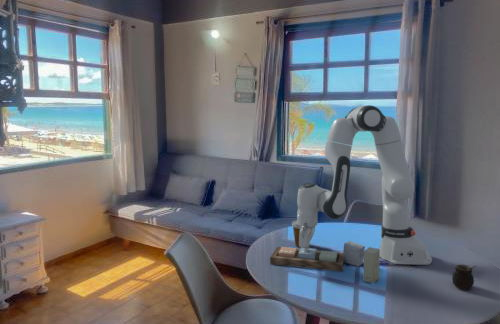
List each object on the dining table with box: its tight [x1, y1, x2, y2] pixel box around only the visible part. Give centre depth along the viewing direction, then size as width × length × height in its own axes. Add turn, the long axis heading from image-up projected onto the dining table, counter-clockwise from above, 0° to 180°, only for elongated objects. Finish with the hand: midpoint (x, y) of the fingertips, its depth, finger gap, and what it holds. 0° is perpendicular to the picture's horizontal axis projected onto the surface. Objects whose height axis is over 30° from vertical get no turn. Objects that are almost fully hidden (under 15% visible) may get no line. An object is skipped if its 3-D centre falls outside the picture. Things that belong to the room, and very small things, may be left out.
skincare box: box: [362, 246, 380, 284], centre depth 152 cm, size 6×4×12 cm
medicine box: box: [342, 240, 366, 267], centre depth 168 cm, size 8×4×9 cm, turn 46°
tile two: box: [298, 247, 318, 260], centre depth 171 cm, size 7×7×3 cm
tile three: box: [278, 246, 298, 258], centre depth 174 cm, size 7×7×3 cm
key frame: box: [269, 246, 345, 272], centre depth 171 cm, size 31×13×3 cm, turn 72°
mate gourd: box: [451, 264, 477, 291], centre depth 144 cm, size 7×8×10 cm
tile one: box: [319, 250, 337, 262], centre depth 168 cm, size 7×7×3 cm
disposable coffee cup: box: [291, 219, 301, 249], centre depth 190 cm, size 10×10×12 cm
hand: (306, 250), depth 171 cm, fingers closed
